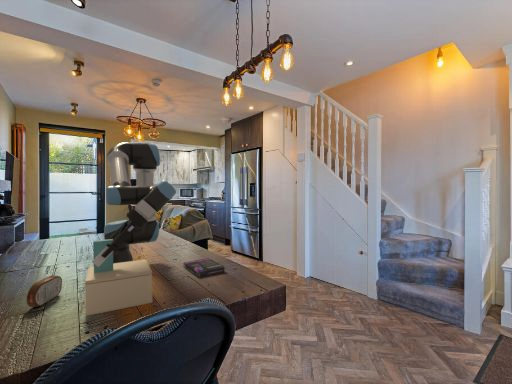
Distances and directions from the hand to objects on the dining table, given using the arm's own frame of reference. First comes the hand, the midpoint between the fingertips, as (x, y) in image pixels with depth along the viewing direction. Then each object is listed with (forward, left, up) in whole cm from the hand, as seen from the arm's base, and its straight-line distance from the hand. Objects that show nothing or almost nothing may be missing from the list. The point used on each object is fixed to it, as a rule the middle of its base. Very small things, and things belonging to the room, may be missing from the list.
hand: (95, 259), depth 94 cm
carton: (+4, +6, -16) cm, 17 cm away
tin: (-18, -7, -16) cm, 25 cm away
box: (+10, +47, -16) cm, 51 cm away
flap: (+4, +6, -5) cm, 9 cm away
